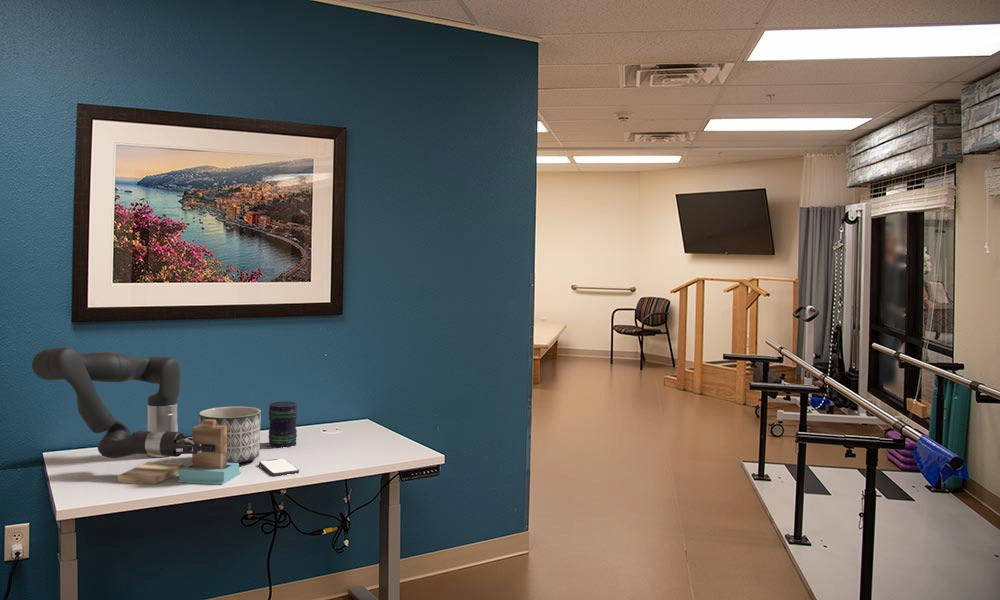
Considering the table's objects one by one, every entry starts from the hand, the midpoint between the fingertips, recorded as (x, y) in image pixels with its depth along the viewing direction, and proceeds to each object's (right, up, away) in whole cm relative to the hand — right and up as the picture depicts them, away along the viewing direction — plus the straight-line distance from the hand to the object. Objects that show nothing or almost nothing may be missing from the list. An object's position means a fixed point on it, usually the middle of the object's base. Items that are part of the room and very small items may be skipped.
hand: (218, 446), depth 234 cm
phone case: (+15, -10, +13) cm, 22 cm away
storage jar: (+7, -8, +45) cm, 46 cm away
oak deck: (-21, -9, +2) cm, 23 cm away
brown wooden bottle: (-3, -8, +1) cm, 8 cm away
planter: (-4, -9, +21) cm, 23 cm away
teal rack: (-3, -10, +1) cm, 10 cm away
